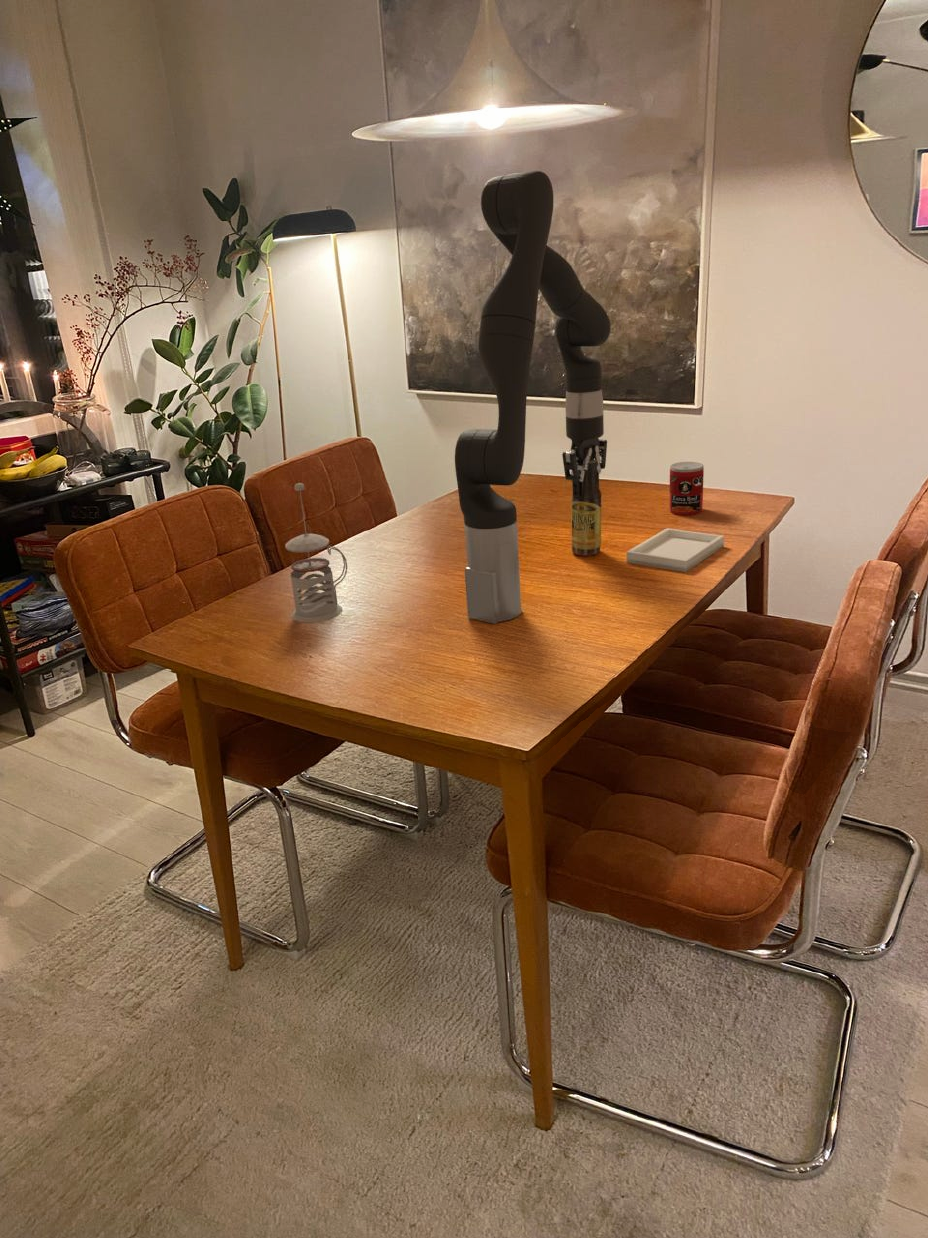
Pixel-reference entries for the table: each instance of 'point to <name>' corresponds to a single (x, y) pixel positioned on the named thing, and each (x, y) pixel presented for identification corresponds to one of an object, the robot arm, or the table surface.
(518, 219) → the robot arm
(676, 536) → the white tray
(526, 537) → the table surface
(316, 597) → the french press
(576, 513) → the sauce bottle
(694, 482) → the canned food
